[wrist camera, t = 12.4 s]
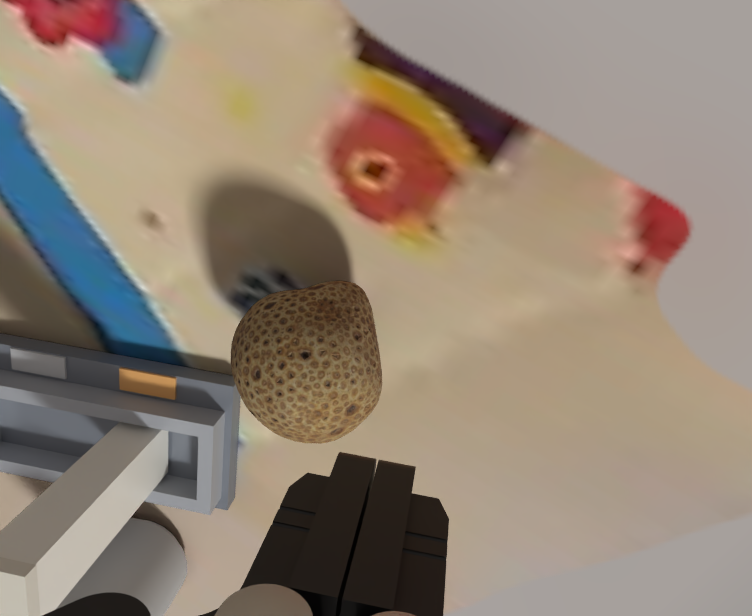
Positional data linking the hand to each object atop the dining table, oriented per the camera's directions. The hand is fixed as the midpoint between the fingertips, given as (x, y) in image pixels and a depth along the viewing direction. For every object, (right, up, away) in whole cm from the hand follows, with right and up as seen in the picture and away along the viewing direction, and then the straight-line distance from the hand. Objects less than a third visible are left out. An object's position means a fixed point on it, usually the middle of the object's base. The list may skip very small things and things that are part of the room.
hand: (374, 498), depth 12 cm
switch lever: (-16, -6, +31) cm, 36 cm away
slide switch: (-19, -5, +33) cm, 39 cm away
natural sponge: (-3, +2, +29) cm, 29 cm away
